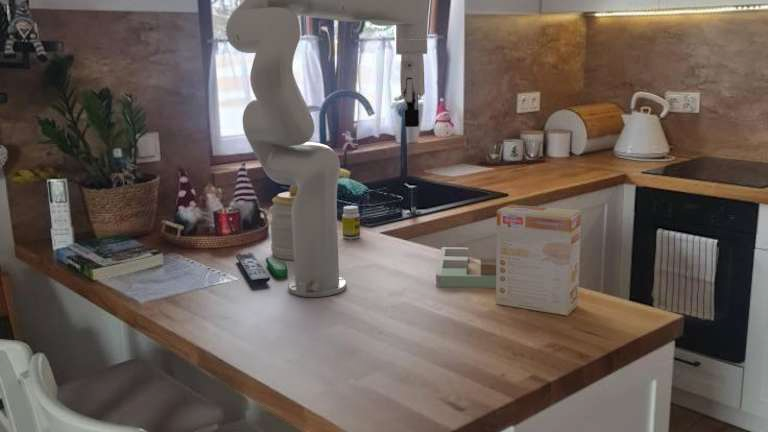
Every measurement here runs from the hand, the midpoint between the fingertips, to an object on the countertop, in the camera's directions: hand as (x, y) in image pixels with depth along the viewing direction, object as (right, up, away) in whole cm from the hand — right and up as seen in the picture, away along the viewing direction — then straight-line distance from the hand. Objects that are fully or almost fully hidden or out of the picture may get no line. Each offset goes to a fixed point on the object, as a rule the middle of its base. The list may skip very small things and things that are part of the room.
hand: (411, 126), depth 181 cm
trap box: (+15, -34, -8) cm, 38 cm away
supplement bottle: (-16, -27, +25) cm, 40 cm away
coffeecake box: (+24, -39, -30) cm, 55 cm away
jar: (-29, -31, +10) cm, 44 cm away
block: (+17, -36, -16) cm, 43 cm away
